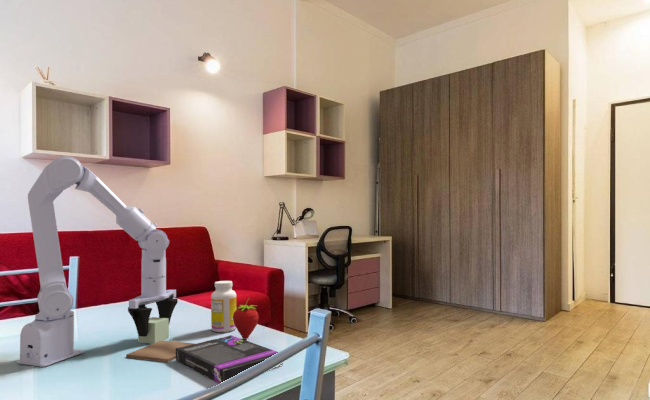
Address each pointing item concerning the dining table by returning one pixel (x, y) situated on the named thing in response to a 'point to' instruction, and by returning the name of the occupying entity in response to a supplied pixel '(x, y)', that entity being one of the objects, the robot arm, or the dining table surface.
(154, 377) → the dining table surface
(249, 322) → the strawberry
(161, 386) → the dining table surface
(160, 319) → the sage cube
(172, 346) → the walnut board
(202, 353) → the box
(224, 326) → the supplement bottle
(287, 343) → the dining table surface
